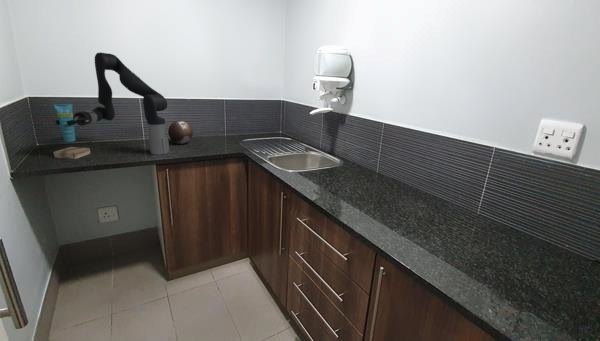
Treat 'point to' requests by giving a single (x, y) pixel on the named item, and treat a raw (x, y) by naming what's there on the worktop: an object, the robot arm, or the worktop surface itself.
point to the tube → (65, 121)
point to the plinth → (71, 152)
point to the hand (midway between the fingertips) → (62, 122)
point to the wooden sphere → (180, 132)
